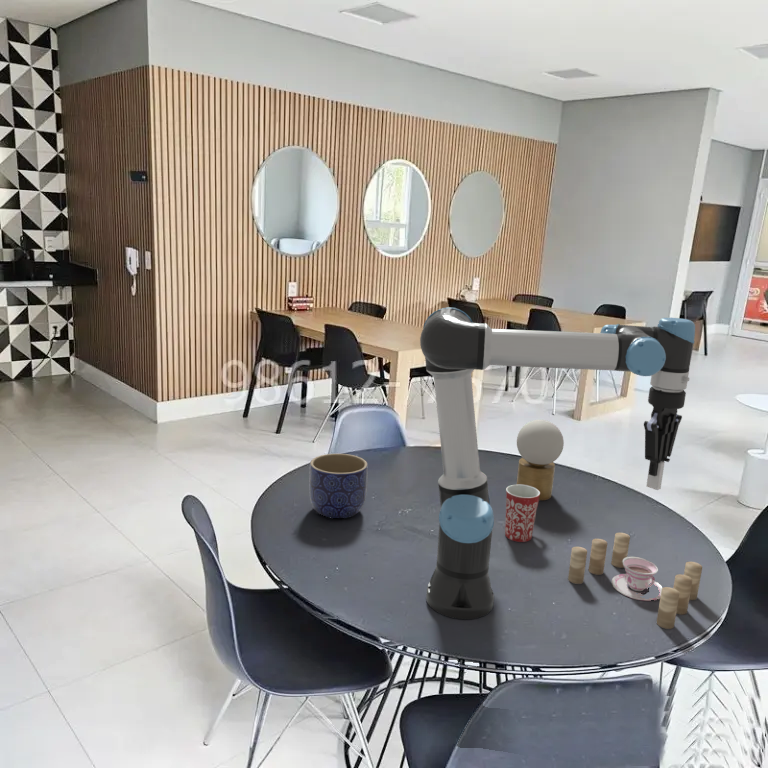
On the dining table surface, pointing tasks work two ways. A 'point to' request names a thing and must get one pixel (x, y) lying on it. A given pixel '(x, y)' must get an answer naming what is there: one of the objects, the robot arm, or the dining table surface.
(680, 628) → the dining table surface
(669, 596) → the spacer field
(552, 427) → the lamp
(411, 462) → the dining table surface
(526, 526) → the mug
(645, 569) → the teacup
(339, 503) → the planter
